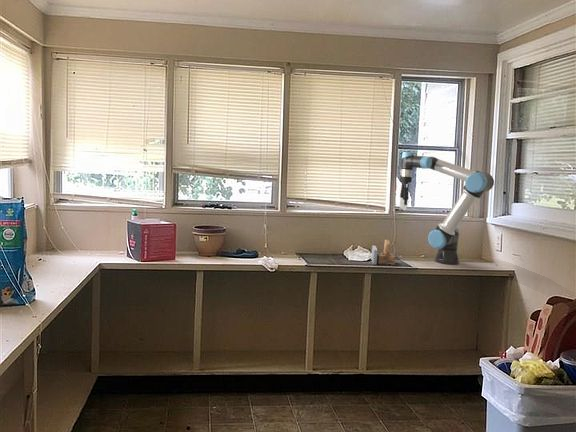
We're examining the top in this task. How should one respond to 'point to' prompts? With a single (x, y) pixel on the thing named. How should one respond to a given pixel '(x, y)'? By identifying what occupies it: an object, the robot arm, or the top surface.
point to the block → (385, 259)
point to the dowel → (386, 247)
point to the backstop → (374, 255)
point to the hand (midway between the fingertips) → (403, 208)
